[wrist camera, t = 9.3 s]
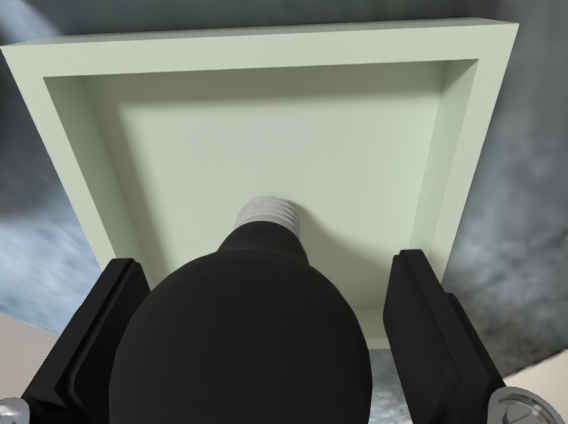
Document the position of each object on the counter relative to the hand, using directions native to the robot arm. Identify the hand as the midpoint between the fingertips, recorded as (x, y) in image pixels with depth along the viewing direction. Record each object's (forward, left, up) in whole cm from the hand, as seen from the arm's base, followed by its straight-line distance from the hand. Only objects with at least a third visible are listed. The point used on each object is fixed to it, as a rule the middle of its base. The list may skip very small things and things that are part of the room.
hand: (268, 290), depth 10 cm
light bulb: (0, 0, -5) cm, 5 cm away
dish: (0, 0, -5) cm, 5 cm away
